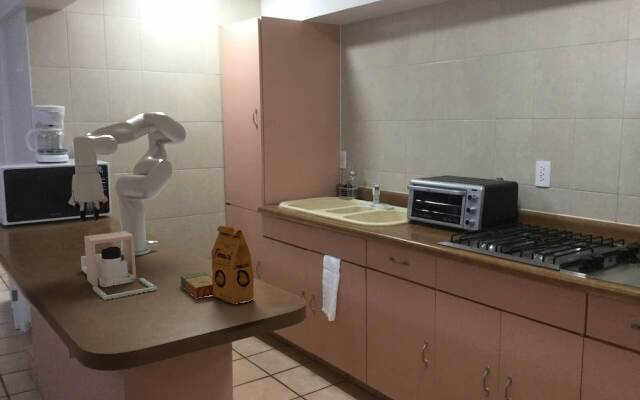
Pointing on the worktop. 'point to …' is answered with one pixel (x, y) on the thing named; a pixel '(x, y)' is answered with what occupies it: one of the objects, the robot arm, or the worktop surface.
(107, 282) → the rack
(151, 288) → the frame
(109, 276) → the medicine bottle
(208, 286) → the carton
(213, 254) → the coffee package
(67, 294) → the worktop surface
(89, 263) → the cubby
